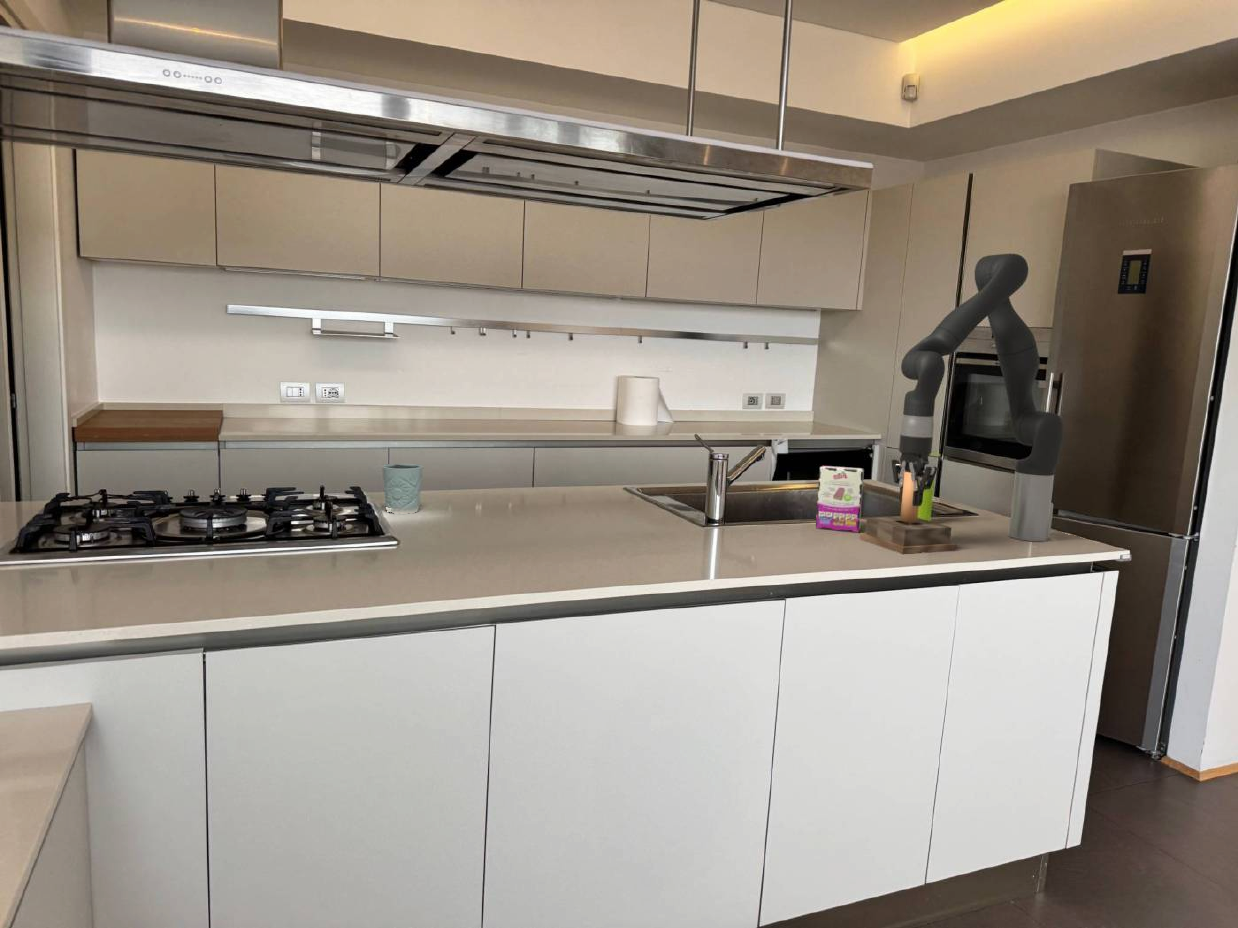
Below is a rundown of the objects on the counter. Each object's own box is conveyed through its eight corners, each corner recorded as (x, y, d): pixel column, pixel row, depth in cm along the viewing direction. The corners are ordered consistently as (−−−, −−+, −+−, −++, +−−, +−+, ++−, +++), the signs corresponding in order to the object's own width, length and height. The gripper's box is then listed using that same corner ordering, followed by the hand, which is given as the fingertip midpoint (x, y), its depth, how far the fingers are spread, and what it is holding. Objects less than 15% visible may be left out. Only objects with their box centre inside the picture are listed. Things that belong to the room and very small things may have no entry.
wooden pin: (909, 518, 219) (913, 471, 217) (920, 522, 215) (925, 473, 214) (896, 519, 217) (900, 471, 216) (907, 522, 214) (912, 473, 212)
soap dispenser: (935, 526, 242) (942, 453, 239) (909, 524, 243) (915, 452, 240) (932, 522, 247) (938, 451, 245) (906, 520, 249) (912, 449, 246)
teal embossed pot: (393, 516, 224) (394, 469, 222) (375, 509, 231) (375, 464, 230) (429, 512, 231) (429, 467, 229) (409, 505, 238) (410, 461, 237)
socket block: (909, 535, 228) (911, 514, 227) (955, 550, 213) (957, 528, 212) (859, 538, 221) (861, 517, 221) (902, 553, 207) (904, 531, 206)
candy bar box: (860, 529, 233) (865, 468, 231) (858, 533, 228) (863, 470, 226) (816, 525, 237) (821, 464, 234) (814, 528, 232) (819, 466, 230)
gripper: (950, 437, 208) (943, 509, 211) (908, 431, 221) (902, 498, 224) (925, 437, 206) (918, 510, 208) (884, 431, 218) (878, 499, 221)
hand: (910, 503), depth 216 cm, fingers closed on wooden pin, 4 cm apart
